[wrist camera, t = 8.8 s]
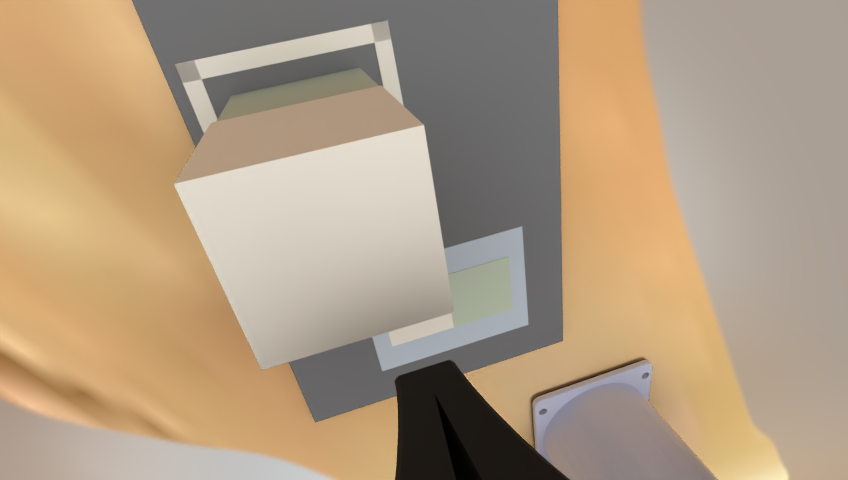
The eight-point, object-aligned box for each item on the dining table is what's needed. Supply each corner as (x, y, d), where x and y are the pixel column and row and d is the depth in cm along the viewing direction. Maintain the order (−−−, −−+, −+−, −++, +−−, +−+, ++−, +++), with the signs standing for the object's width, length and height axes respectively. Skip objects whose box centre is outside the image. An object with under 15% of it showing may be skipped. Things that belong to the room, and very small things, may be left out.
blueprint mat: (559, 336, 26) (563, 341, 25) (314, 416, 24) (315, 423, 23) (550, -95, 16) (557, -97, 15) (127, -20, 14) (122, -20, 13)
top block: (410, 229, 15) (454, 312, 11) (268, 267, 14) (261, 370, 10) (381, 85, 12) (424, 124, 8) (211, 122, 12) (173, 183, 8)
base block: (385, 182, 18) (411, 231, 15) (274, 211, 18) (271, 270, 14) (359, 67, 16) (382, 88, 12) (231, 95, 16) (213, 127, 12)
